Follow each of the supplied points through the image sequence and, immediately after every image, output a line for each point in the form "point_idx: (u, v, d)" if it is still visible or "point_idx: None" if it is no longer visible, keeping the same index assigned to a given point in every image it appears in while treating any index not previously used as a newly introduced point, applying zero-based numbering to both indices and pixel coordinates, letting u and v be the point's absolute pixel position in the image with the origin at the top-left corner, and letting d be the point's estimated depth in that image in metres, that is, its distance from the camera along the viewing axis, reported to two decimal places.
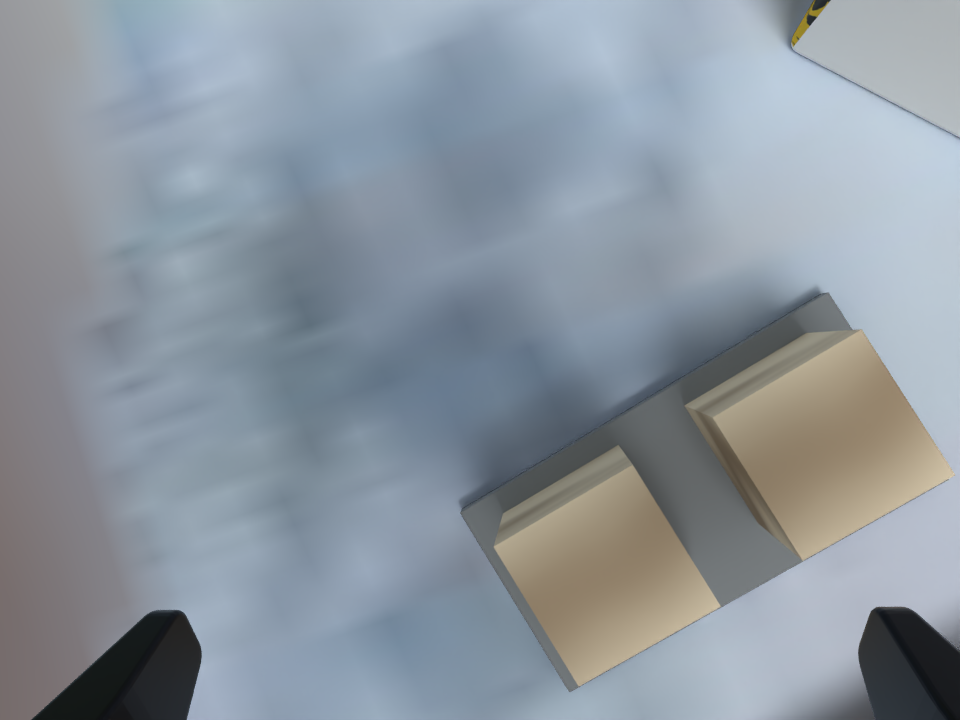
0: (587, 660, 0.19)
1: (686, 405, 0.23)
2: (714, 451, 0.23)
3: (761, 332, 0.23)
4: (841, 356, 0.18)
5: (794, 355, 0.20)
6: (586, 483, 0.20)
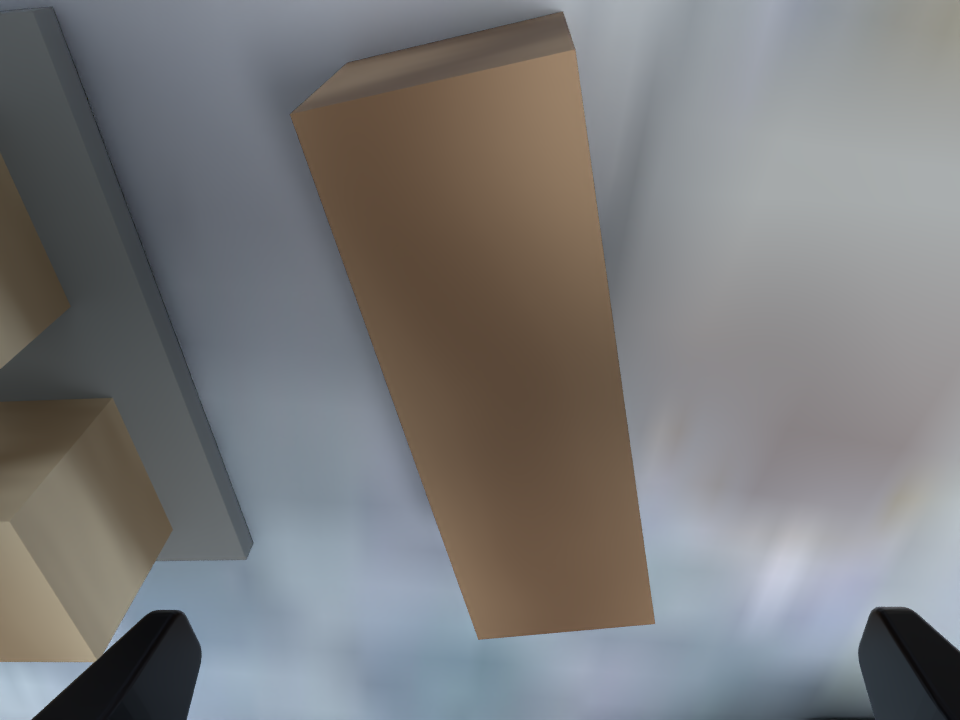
0: (67, 646, 0.16)
1: None
2: None
3: None
4: None
5: None
6: None
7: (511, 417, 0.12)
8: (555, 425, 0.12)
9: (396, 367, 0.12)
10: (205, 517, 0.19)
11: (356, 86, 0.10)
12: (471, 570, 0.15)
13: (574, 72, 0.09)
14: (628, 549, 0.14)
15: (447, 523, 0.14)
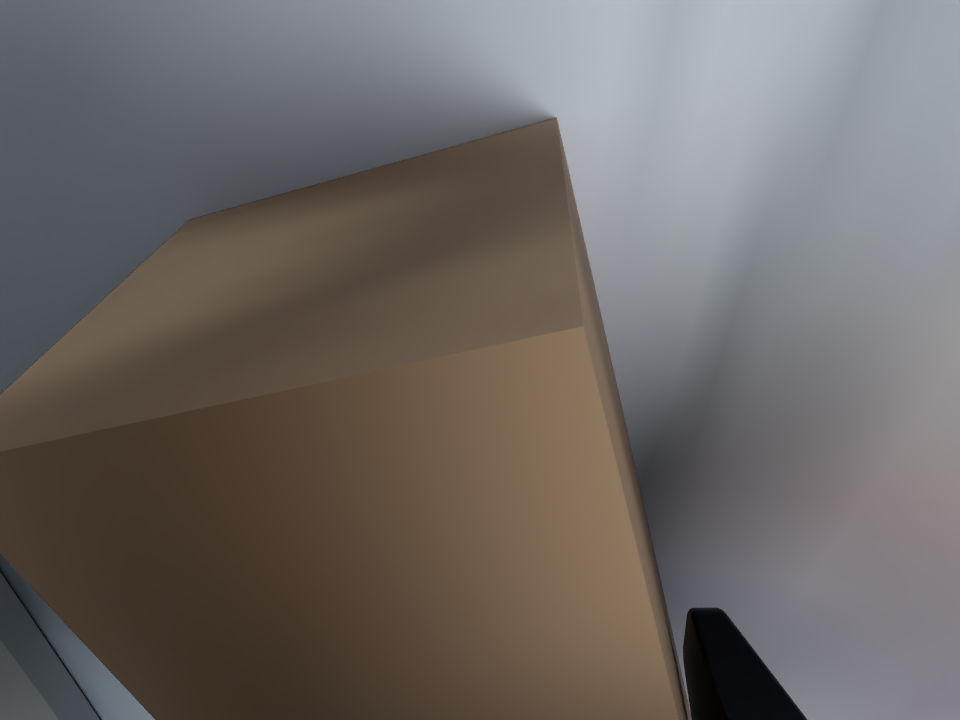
0: None
1: None
2: None
3: None
4: None
5: None
6: None
7: None
8: None
9: None
10: None
11: (116, 349, 0.05)
12: None
13: (584, 378, 0.03)
14: None
15: None
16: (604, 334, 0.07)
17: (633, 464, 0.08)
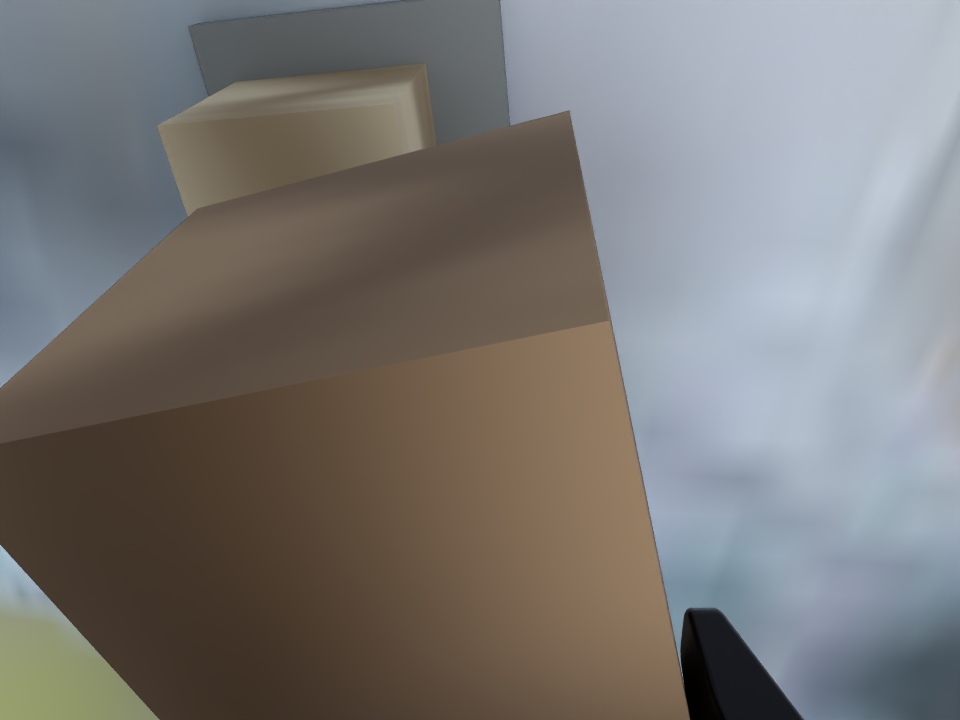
0: None
1: None
2: None
3: None
4: (187, 168, 0.13)
5: None
6: None
7: None
8: None
9: None
10: None
11: (124, 340, 0.05)
12: None
13: (609, 374, 0.03)
14: None
15: None
16: (613, 332, 0.07)
17: None
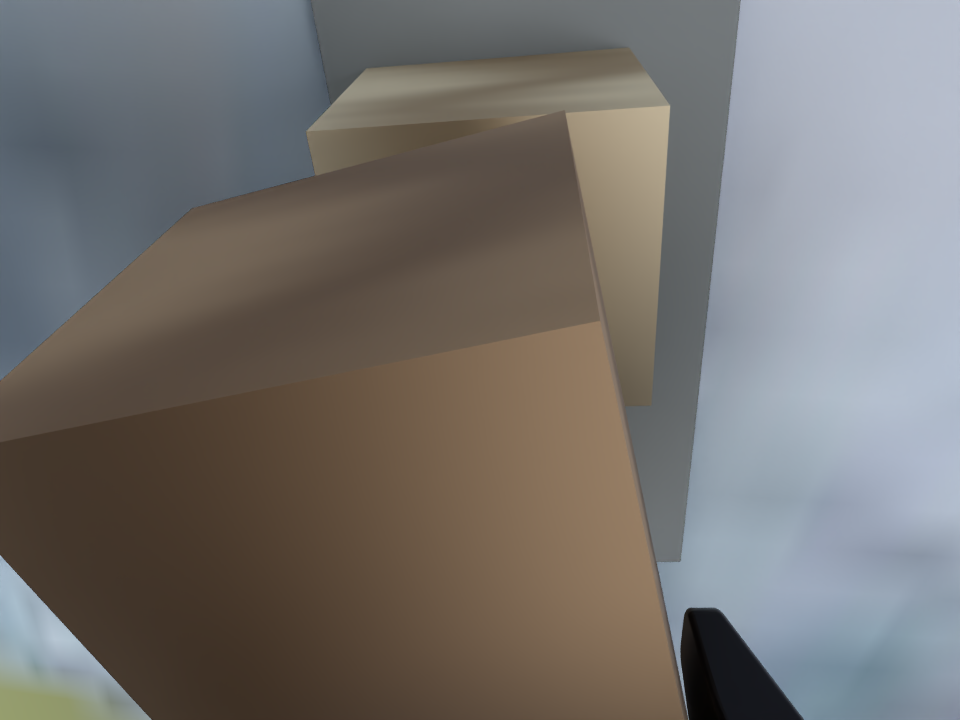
0: None
1: None
2: None
3: None
4: None
5: None
6: None
7: None
8: None
9: None
10: (657, 516, 0.18)
11: (115, 340, 0.05)
12: None
13: (599, 373, 0.03)
14: None
15: None
16: (609, 332, 0.07)
17: (636, 464, 0.08)
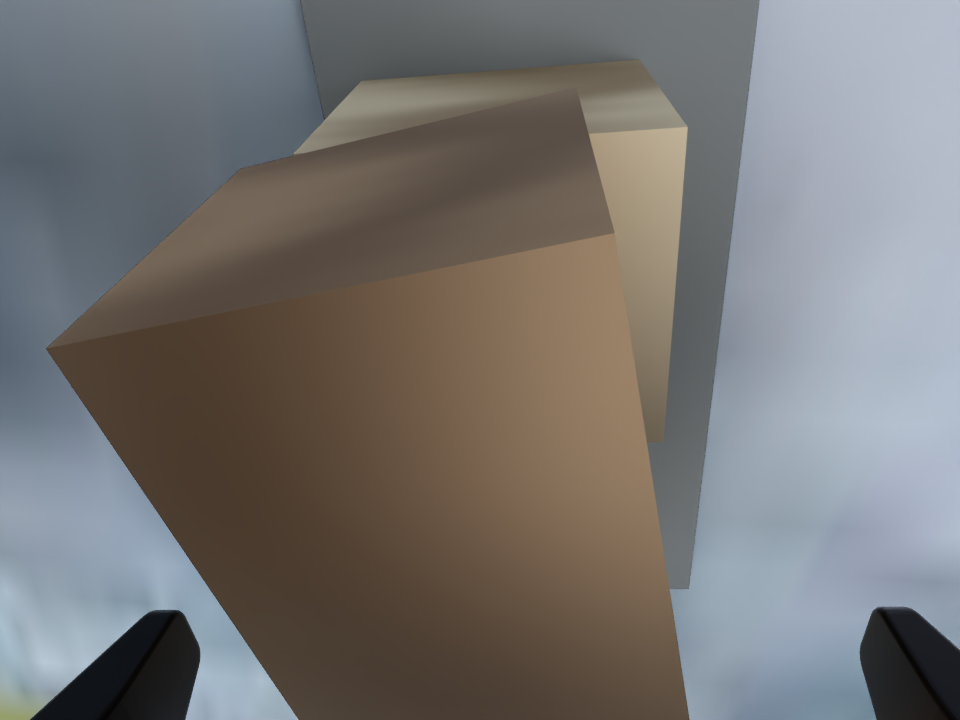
0: None
1: None
2: None
3: None
4: None
5: None
6: None
7: None
8: None
9: (309, 697, 0.07)
10: (665, 542, 0.17)
11: (201, 264, 0.06)
12: None
13: (612, 277, 0.04)
14: None
15: None
16: None
17: None
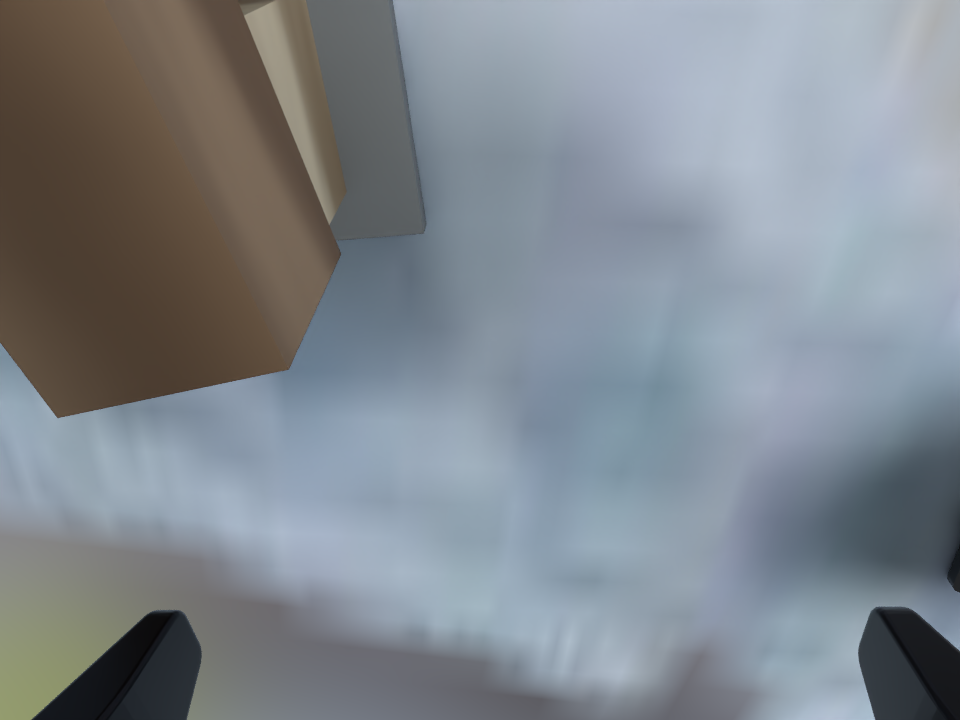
0: None
1: None
2: None
3: None
4: None
5: None
6: None
7: None
8: None
9: None
10: (386, 170, 0.17)
11: None
12: None
13: None
14: (192, 225, 0.09)
15: None
16: None
17: None
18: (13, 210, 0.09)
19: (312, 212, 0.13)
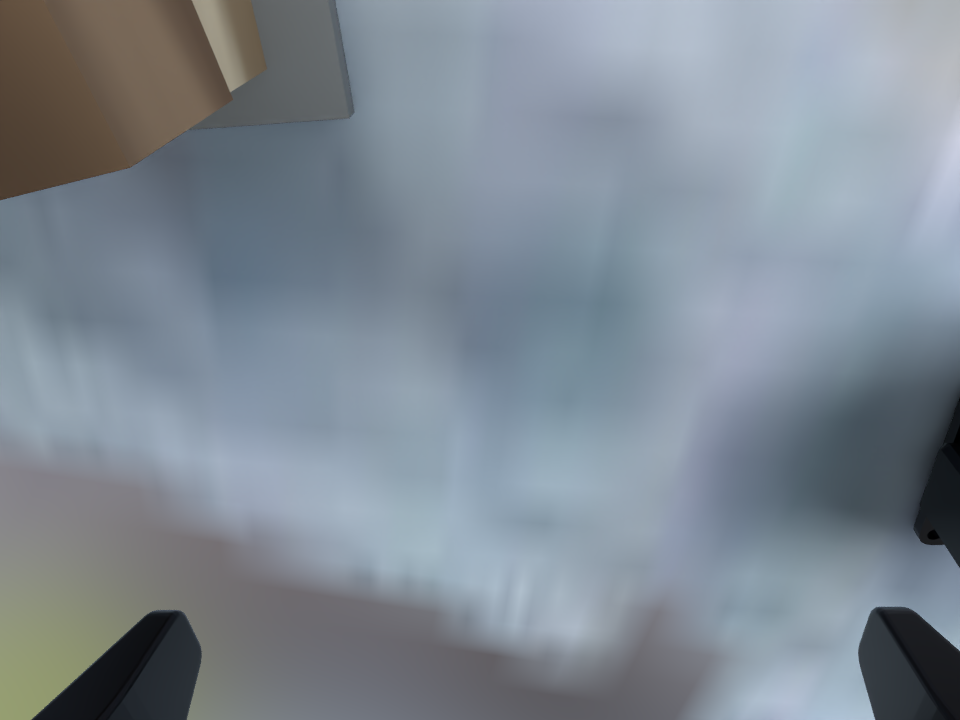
0: None
1: None
2: None
3: None
4: None
5: None
6: None
7: None
8: None
9: None
10: (307, 45, 0.16)
11: None
12: None
13: None
14: None
15: None
16: None
17: None
18: None
19: (193, 40, 0.12)
